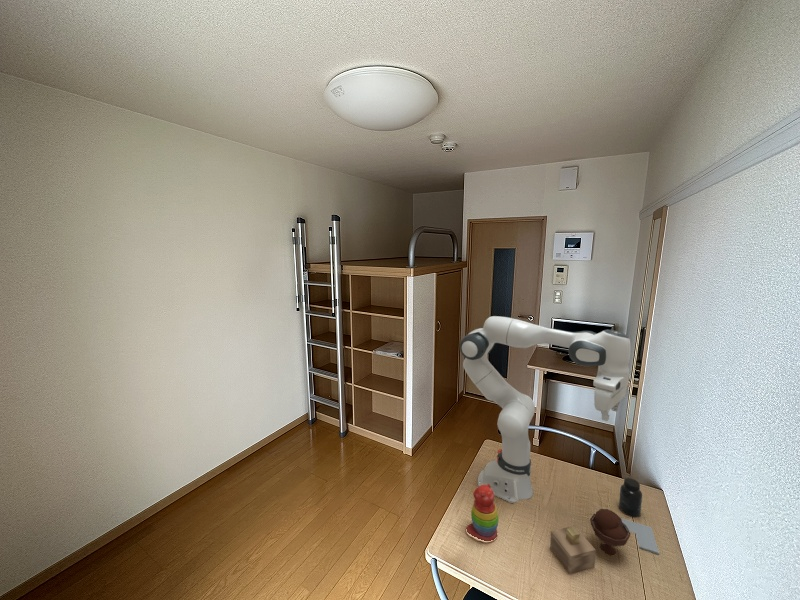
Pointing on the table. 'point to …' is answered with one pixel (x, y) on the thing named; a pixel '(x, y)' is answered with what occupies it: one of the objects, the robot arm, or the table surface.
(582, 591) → the table surface
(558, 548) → the walnut box
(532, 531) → the table surface
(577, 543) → the lid
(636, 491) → the supplement bottle
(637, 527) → the felt pad
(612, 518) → the ice cream bowl
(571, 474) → the table surface
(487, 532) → the stacking bear
